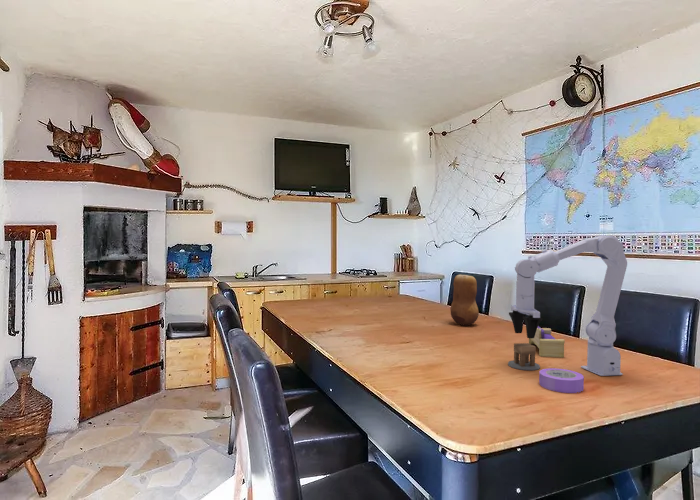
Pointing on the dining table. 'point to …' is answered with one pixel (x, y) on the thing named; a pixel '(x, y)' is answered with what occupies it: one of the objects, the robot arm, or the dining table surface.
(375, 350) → the dining table surface
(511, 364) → the mat
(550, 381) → the masking tape
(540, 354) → the toy sofa
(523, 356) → the wooden toy stool
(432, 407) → the dining table surface
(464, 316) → the butternut squash
